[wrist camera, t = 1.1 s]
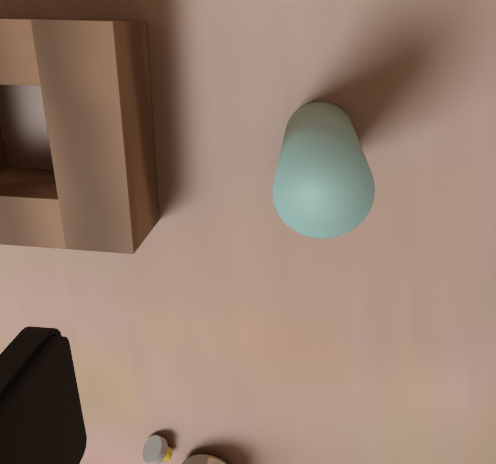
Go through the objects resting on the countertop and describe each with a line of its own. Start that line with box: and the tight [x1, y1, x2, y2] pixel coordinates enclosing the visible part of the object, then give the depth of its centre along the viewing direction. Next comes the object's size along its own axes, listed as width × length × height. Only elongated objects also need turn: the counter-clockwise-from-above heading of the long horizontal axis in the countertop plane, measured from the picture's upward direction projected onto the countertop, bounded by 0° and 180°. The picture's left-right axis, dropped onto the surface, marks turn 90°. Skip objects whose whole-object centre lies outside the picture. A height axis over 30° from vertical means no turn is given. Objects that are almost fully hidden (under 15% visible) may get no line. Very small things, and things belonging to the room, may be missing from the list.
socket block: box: [0, 18, 159, 254], centre depth 27 cm, size 14×12×5 cm
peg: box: [273, 101, 375, 238], centre depth 23 cm, size 4×4×10 cm
